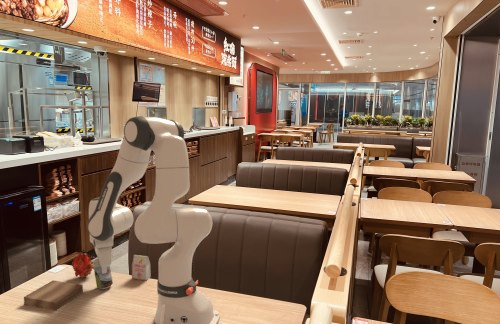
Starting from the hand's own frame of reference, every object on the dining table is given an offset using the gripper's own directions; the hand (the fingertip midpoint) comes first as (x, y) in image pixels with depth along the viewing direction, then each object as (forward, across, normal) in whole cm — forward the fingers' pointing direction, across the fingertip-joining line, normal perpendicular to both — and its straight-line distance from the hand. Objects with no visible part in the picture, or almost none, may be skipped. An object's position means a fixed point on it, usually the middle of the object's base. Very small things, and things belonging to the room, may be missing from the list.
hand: (102, 269), depth 149 cm
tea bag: (+8, -2, +16) cm, 18 cm away
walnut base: (+8, +1, -18) cm, 20 cm away
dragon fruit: (+8, -13, -6) cm, 16 cm away
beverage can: (+8, 0, 0) cm, 8 cm away
